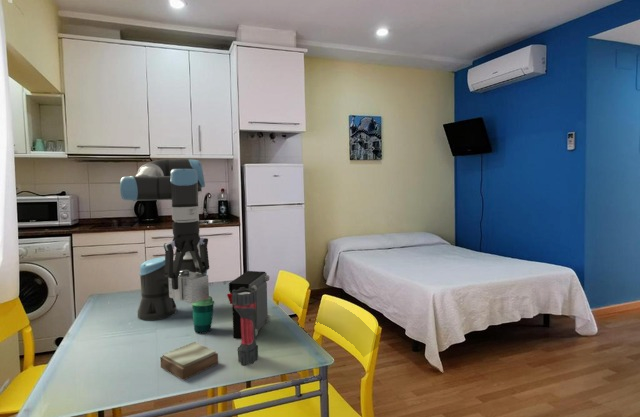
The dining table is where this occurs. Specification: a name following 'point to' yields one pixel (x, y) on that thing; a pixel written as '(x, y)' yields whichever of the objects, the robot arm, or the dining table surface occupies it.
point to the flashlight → (246, 323)
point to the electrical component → (260, 286)
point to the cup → (203, 315)
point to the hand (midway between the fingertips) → (188, 296)
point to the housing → (191, 287)
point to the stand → (189, 360)
